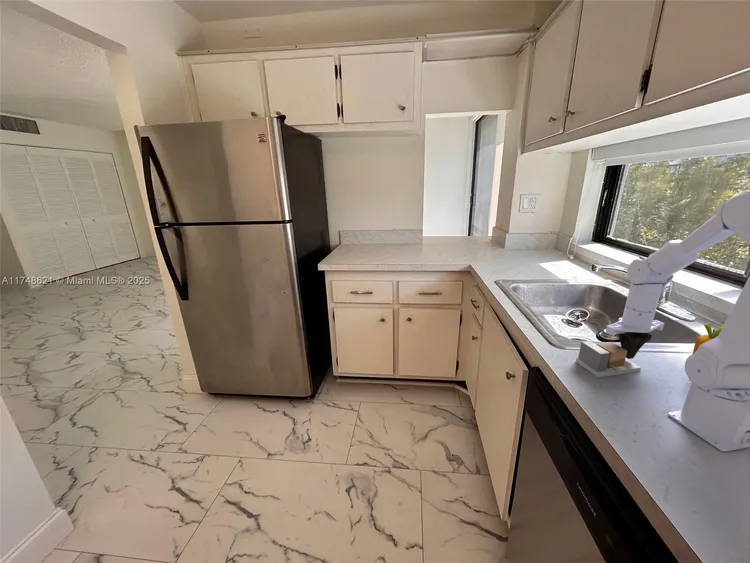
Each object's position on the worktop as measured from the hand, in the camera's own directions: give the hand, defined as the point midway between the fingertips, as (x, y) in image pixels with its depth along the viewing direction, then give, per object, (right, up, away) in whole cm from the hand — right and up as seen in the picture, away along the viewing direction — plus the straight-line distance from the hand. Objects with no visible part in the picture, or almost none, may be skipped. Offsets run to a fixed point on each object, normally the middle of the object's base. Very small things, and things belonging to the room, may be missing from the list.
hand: (627, 356), depth 80 cm
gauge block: (-6, -2, -2) cm, 6 cm away
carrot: (+12, -4, -6) cm, 14 cm away
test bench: (-5, -2, 0) cm, 6 cm away
